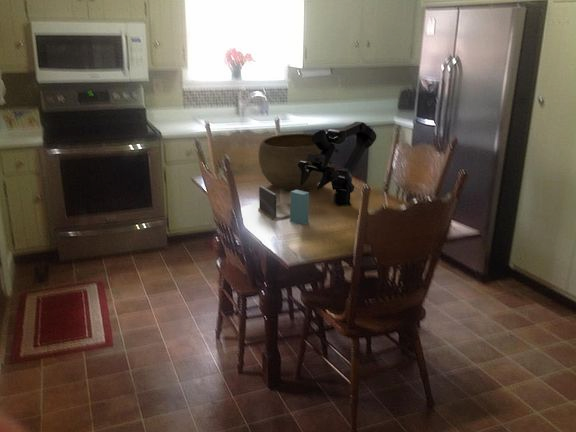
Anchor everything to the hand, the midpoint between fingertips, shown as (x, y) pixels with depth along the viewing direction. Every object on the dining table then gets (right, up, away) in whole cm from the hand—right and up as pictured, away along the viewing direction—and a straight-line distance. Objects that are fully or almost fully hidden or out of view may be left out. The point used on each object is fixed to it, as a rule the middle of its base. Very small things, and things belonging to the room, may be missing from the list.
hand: (309, 187), depth 231 cm
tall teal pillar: (-4, -15, -2) cm, 15 cm away
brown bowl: (-6, +2, +47) cm, 47 cm away
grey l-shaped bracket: (-12, -11, +9) cm, 18 cm away
